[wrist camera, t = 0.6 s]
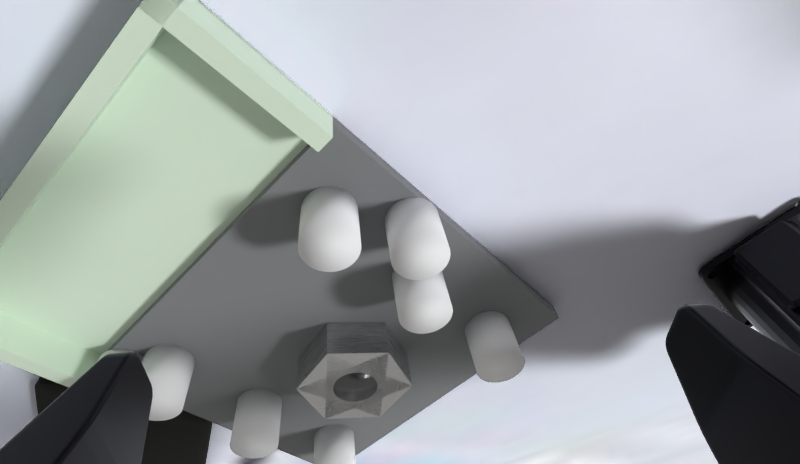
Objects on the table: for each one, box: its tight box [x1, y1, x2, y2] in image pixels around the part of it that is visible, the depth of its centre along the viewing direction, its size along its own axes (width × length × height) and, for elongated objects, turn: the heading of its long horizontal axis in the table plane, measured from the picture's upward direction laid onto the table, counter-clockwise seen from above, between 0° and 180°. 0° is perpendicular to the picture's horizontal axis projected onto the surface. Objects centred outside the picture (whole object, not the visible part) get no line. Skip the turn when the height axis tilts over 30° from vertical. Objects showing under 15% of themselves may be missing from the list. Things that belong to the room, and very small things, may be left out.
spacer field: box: [0, 0, 559, 464], centre depth 23 cm, size 23×18×3 cm
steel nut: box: [296, 322, 412, 419], centre depth 26 cm, size 5×6×2 cm
